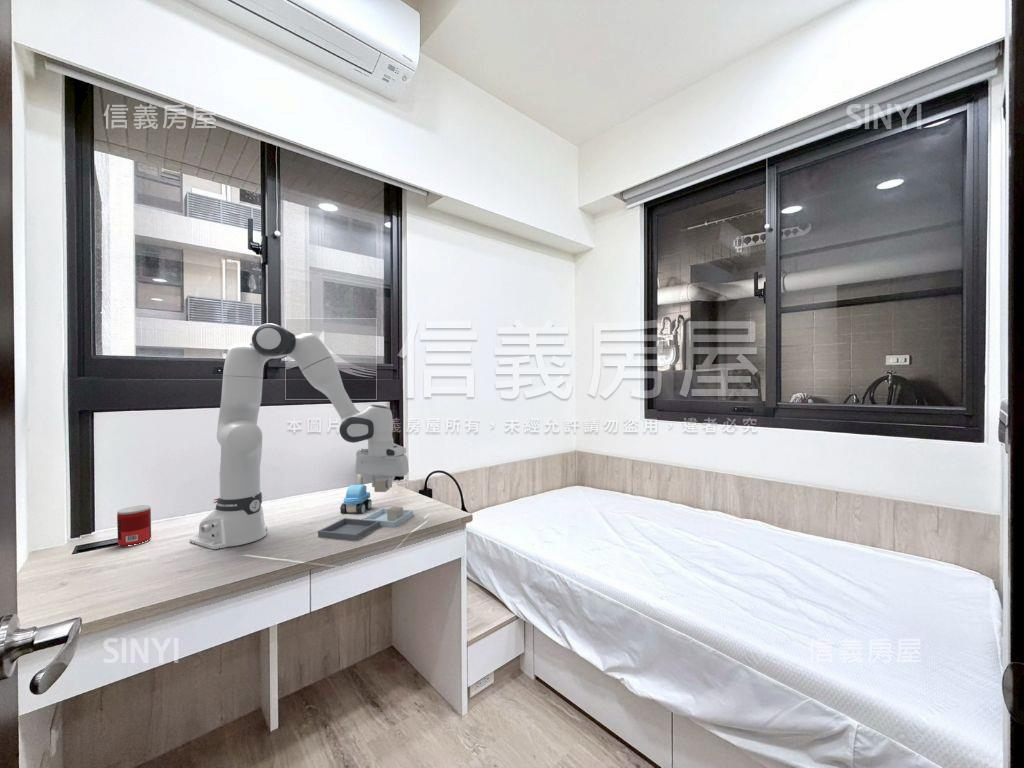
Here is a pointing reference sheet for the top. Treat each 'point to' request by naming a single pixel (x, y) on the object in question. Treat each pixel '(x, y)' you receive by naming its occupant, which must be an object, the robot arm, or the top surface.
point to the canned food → (134, 525)
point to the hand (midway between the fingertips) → (382, 487)
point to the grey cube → (394, 513)
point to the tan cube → (381, 485)
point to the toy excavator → (356, 498)
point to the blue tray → (382, 517)
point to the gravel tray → (349, 529)
